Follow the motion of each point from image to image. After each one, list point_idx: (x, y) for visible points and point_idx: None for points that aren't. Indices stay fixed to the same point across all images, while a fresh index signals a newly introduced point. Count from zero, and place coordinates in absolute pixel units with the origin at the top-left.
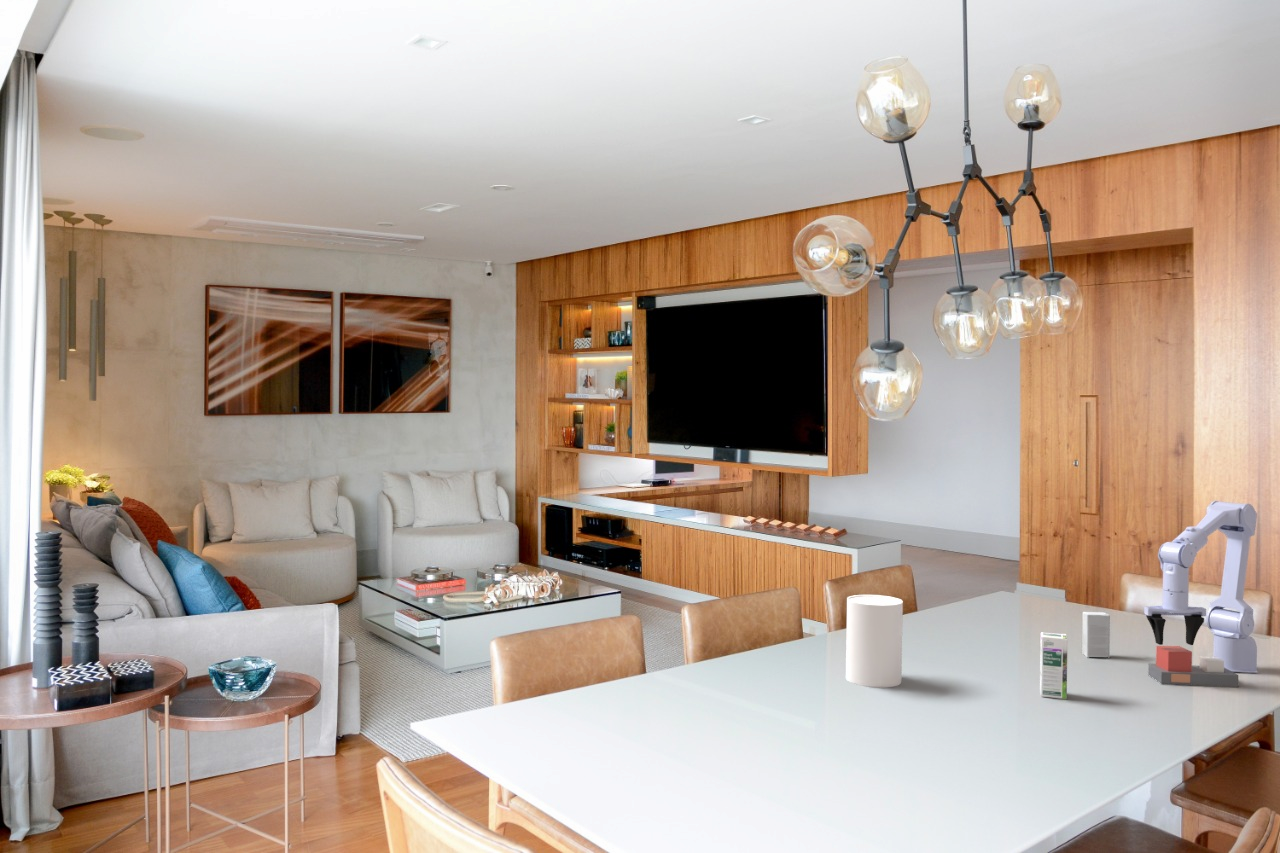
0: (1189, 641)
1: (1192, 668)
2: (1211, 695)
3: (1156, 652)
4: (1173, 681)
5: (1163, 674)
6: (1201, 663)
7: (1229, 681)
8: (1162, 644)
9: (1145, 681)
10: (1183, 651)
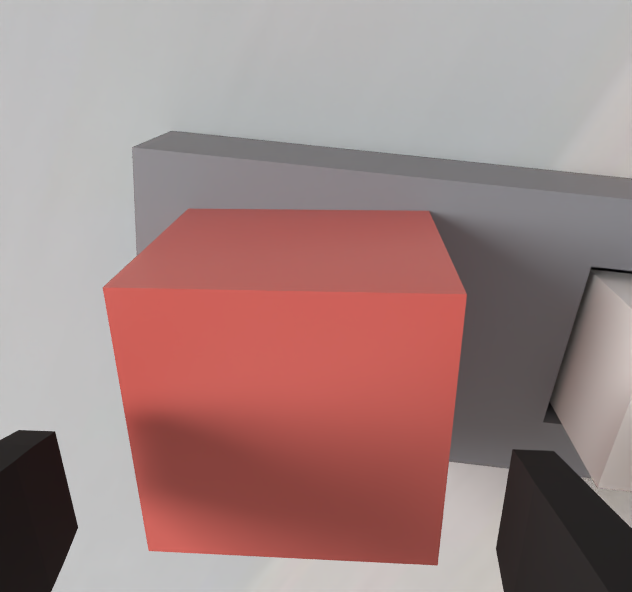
0: (511, 566)
1: (498, 314)
2: (378, 572)
3: (141, 253)
4: None
5: None
6: (609, 342)
7: None
8: (75, 531)
9: (85, 310)
10: (335, 553)
